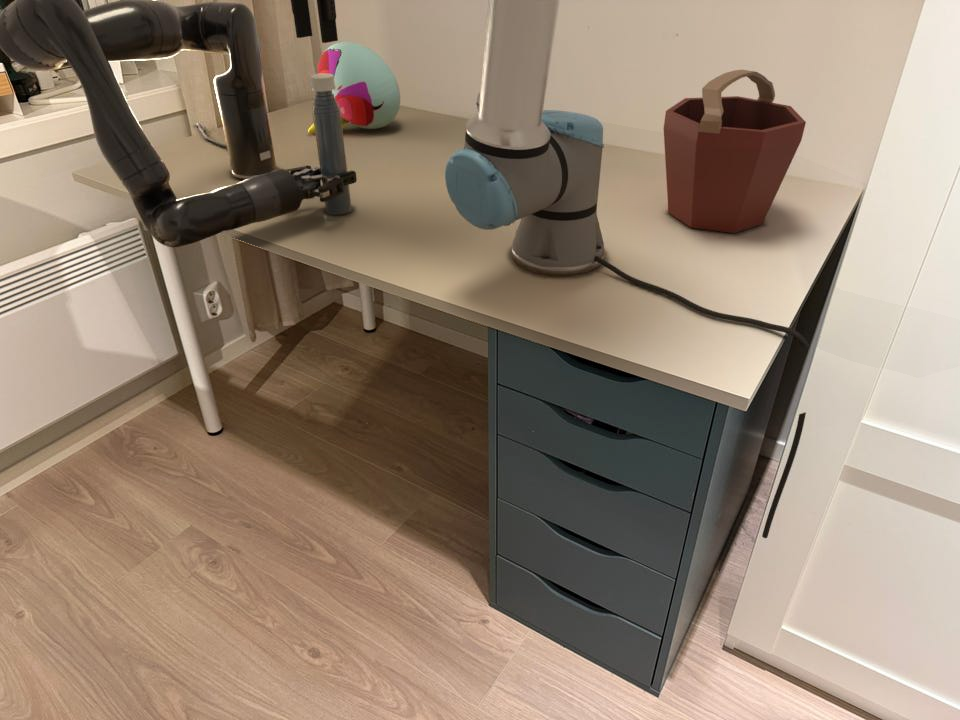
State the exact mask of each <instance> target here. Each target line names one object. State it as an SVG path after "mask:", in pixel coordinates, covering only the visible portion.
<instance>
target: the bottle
mask: <svg viewBox="0 0 960 720" xmlns="http://www.w3.org/2000/svg"><path fill="white" fill-rule="evenodd" d="M312 105H313V106H312V110H311V111H312V118H313V124H314V127H315V133H314V134H315V141H316V148H317V155H318V162H319V169H320V171H321V175H322V174H324V175H326V176H333V175H338V174H341V173H344V172H348V166H347V165H348V164H347V157H346V149H345V147H346V146H345V140H344V139H345V138H344V131H343V125H342V122H341V113H340V109H339V105H338V104H337V101H336V98H335V97H334V94H333V93H332V90H331V91H324V92H318V91H315V94H314V98H313V103H312ZM332 181H333V180H332ZM329 182H331V181H329ZM329 182H328V183H329ZM321 185H323V181H322V180H321ZM324 205H325V206H324V208H325V212H326V213H327V214H329V215H332V216H341V215H346V214H349V213H350V212H351V211H352V199H351V191H350V184H349V185H346V186H344V193H342V194H340V195H338V196H336V197H334V198H332V199H330V200H328V201H326V202H324Z"/></svg>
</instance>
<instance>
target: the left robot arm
mask: <svg viewBox="0 0 960 720" xmlns="http://www.w3.org/2000/svg"><path fill="white" fill-rule="evenodd" d="M0 50H1V51H2V52H3V53H4V54H5V55H6V57H8V58H9V59H10V60H12V61H13V62H15V63H16V64H18V65H20V66H22V67H24V68H27V69H30V70H34V71H37V72H38V71H41V72H49V71H51V72H52V71H54V70H61V69H64V68H68V67H71V69H72V70H73V72H74V74H75V75H76V77H77V79H78V81H79V83H80V84H81V87H82V90H83V93H84V95H85V99H86V103H87V106H88V110H89V116H90V120H91V125H92V129H93V134H94V137H95V140H96V143H97V146H98V148H99V150H100V153H101V154H102V156H103V158H104V159H105V161H106V162H107V164H108V165H109V166H110V168H111V169H112V171H113V172H114V174H115V175H116V177H117V178H118V180H119V181H120V183H121V184H122V185H123V187H124V188H125V189H126V190H127V192H128V194H129V196H130V198H131V201H132V203H133V205H134V207H135V209H136V211H137V213H138V216H139V217H140V220H141V222H142V223H143V225H144V227H145V228H146V230H147V232H148V233H149V234H150V235H151V237H152V238H153V239H155V241H157V242H158V243H159V244H161V245H162V246H164V247H168V248H180V247H183V246H188V245H191V244H195V243H197V242H200V241H203V240H206V239H208V238H210V237H213V236H215V235H218V234H220V233H223V232H228V231H231V230H237V229H239V228H242V227H246V226H248V225H251V224H252V225H253V224H255V223H262V222H265V221H269V220H271V219H275V218H279V217H281V216H283V215H287V214H290V213H293V212H296V211H298V209H300V206H301V205H302V202H303V200H312V199H315V198H316V197H317V198H319V202H321V203H325V202H326V201H328V200H330V199H332V198H334V197H336V196H338V195H340V194H342V193H344V186H346V185H349V186H350V185H352V184H355V183H357V181H358V180H357V172H356V171H355V170H352V169H351V170H347V172H344V173H341V174H338V175H333V176H326V175H324V174H322V175H321V171H320V166H314V167H312V166H311V165H308V164H307V165H303V166H298V167H293V168H287V169H284V168H280V169H278V166H277V162H276V157H275V156H276V155H275V152H274V151H275V150H274V144H273V138H272V133H271V128H270V122H269V116H268V110H267V106H266V105H267V104H266V99H265V94H264V93H265V92H264V88H263V87H264V86H263V62H262V55H261V47H260V39H259V31H258V25H257V22H256V19H255V16H254V14H253V12H252V10H251V9H250V8H249V7H248V6H247V5H246V4H244V3H240V2H225V1H207V2H206V1H205V2H200V3H196V4H189V5H182V6H179V5H178V6H175V5H171V4H169V3H167V2H164V1H159V0H116V1H115V0H114V1H110V2H108V3H104V4H100V5H98V6H94V7H91V8H88V9H85V10H83V9H82V7H80V5H79V4H78V2H76V0H13V1H11V2H10V3H9V4H7V6H6V7H4V9H2V10H1V11H0ZM181 51H194V52H195V51H196V52H202V53H210V54H215V55H217V54H218V55H229V60H230V67H229V69H227V70H226V71H224V72H220V73H217V75H215V76H214V78H213V85H214V91H215V94H216V100H217V104H218V108H219V109H218V110H219V113H220V117H221V124H222V127H223V128H222V129H223V134H224V140H225V143H223V142H220V141H219V140H216V139H214V138H211V137H209V136H208V135H207V133H206V132H205V130H204V129H203V127H202V125H201V123H200V122H196V123H195V128H198V129H199V132H200V133H201V135H202V136H203V137H204V138H205V139H206V140H208V141H210V142H211V143H214V144H216V145H218V146H220V147H223V148H225V149H227V153H228V159H229V162H230V167H231V174H232V176H233V177H234V178H236V179H240V180H242V181H239V182H236V183H233V184H230V185H229V184H228V185H226V186H222V187H219V188H216V189H214V190H211V191H209V192H205V193H199V194H195V195H191V196H186V197H182V198H179V199H178V198H177V195H176V194H175V192H174V190H173V188H172V186H171V185H170V180H171V179H170V178H171V174H170V171H169V169H168V167H167V165H166V164H165V162H164V161H163V159H162V157H161V156H160V154H159V153H158V151H157V150H156V148H155V146H154V145H153V144H152V142H151V141H150V139H149V138H148V136H147V134H146V133H145V132H144V129H143V128H142V127H141V125H140V123H139V121H138V120H137V118H136V116H135V114H134V112H133V111H132V109H131V107H130V105H129V103H128V100H127V99H126V96H125V94H124V92H123V89H122V88H121V86H120V83H119V81H118V79H117V76H116V74H115V72H114V70H113V68H112V66H111V64H110V62H124V61H125V62H126V61H127V62H128V61H151V60H152V61H153V60H162V59H169V58H172V57H174V56H176V55H177V54H179V53H180V52H181ZM332 180H333V181H332ZM322 181H323V185H322ZM329 181H331V182H329ZM328 182H329V183H328Z"/></svg>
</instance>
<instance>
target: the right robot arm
mask: <svg viewBox="0 0 960 720" xmlns="http://www.w3.org/2000/svg"><path fill="white" fill-rule="evenodd" d="M290 5H291V12H292V14H293V21H294V27H295V35H296V38H297V39H301V38H307V37H313V28H312V22H311V21H312V20H311V14H310V5H309V0H290ZM559 5H560V0H488V1H487V13H486V23H485V34H484V44H483V45H484V46H483V55H482V57H483V58H482V68H481V79H480V89H479V90H480V91H479V92H480V100H479V112H478V111H477V113H476V114H475V115H474V116H473V117H471V118H470V119H468V121H467V122H466V125H465V132H464V133H465V135H464V136H465V137H464V146H463V148H462V149H458V150H456V151H455V152H454V153H453V155H451V156H450V157H449V158H448V160H447V162H446V164H445V168H444V169H445V171H444V180H445V185H446V190H447V193H448V196H449V198H450V201H451V202H452V203H453V205H454V207H455V209H456V211H457V212H458V214H459V215H460V216H461V217H462V218H463V219H464V220H465V221H466V222H467V223H469V224H470V225H472V226H474V227H476V228H478V229H481V230H487V231H489V230H495V229H498V228H501V227H507V226H512V225H513V224H514V223H515V222H516V221H518V220H519V224H518V226H517V229H516V232H515V234H514V237H513V240H512V245H511V257H512V259H513V261H514V262H515V263H516V264H517V265H519V267H521V268H524V269H526V270H528V271H530V272H532V273H533V272H534V273H537V274H541V275H547V276H558V277H559V276H560V277H561V276H573V275H574V276H575V275H580V274H584V273H588V272H590V271H593V270H595V269H596V268H598V267H599V266H600V265H602V266H603V267H605V268H607V269H608V270H610V271H611V272H613V273H614V274H616V275H617V276H618V277H621V278H622V279H624V280H626V281H628V282H630V283H632V284H634V285H636V286H639V287H641V288H645V289H647V290H651V291H653V292H657V293H660V294H662V295H665V296H667V297H669V298H671V299H673V300H676V301H677V302H679V303H681V304H683V305H685V306H686V307H688V308H690V309H692V310H694V311H696V312H699V313H701V314H704V315H707V316H709V317H713V318H716V319H720V320H725V321H730V322H737V323H742V324H748V325H752V326H757V327H760V328H764V329H767V330H770V331H776V332H780V333H785V334H788V335H789V336H792V337H793V338H794V339H796V341H797V342H798V343H799V344H800V345H801V347H802V348H804V349H808V350H809V349H810V347H811V346H810V344H809V343H808V341H807V340H806V338H805V337H804V336H803V335H802V334H801V333H800V332H798V331H797V330H795V329H793V328H790V327H788V326H784V325H779V324H775V323H769V322H767V321H762V320H758V319H756V318H751V317H745V316H740V315H739V316H738V315H734V314H733V315H732V314H728V313H723V312H718V311H715V310H711V309H708V308H706V307H703V306H701V305H699V304H696V303H694V302H692V301H691V300H689V299H687V298H685V297H683V296H682V295H680V294H678V293H676V292H673V291H671V290H669V289H667V288H664V287H660V286H658V285H655V284H653V283H649V282H647V281H643V280H640V279H638V278H636V277H633V276H632V275H630V274H628V273H626V272H624V271H622V270H621V269H619V268H618V267H616V266H615V265H613V264H612V263H610V262H608V261H606V260H605V259H604V258H605V242H604V239H603V233H602V230H601V226H600V222H599V218H598V213H597V212H598V201H599V200H598V199H599V189H600V179H601V169H602V159H603V149H604V147H605V144H604V126H603V124H602V122H601V121H600V120H599V119H598V118H596V117H594V116H591V115H589V114H585V113H584V114H583V113H581V112H574V111H566V110H556V109H544V107H545V101H546V93H547V87H548V82H549V81H548V79H549V74H550V68H551V67H550V66H551V59H552V53H553V46H554V41H555V39H554V38H555V33H556V27H557V20H558V14H559ZM316 7H317V13H318V22H319V30H320V38H321V39H320V40H321V43H322V44H327V43H333V42H338V41H339V39H338V30H337V29H338V28H337V10H336V1H335V0H316ZM806 414H807V412H806V411H804V412H802V413H799V414H798V419H797V424H796V429H795V432H794V436H793V439H792V443H791V447H790V450H789V453H788V456H787V460H786V463H785V466H784V469H783V471H782V474H781V477H780V480H779V483H778V485H777V487H776V491H775V493H774V496H773V499H772V503H771V505H770V508H769V511H768V513H767V518H766V521H765V524H764V528H763V531H762V535H761V537H762V538H764V539H767V538H768V537H769V534H770V531H771V530H770V529H771V527H772V524H773V520H774V517H775V514H776V511H777V508H778V505H779V502H780V499H781V497H782V494H783V491H784V488H785V486H786V483H787V480H788V477H789V475H790V472H791V469H792V466H793V463H794V460H795V458H796V455H797V451H798V448H799V444H800V441H801V436H802V433H803V429H804V425H805V420H806Z"/></svg>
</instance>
